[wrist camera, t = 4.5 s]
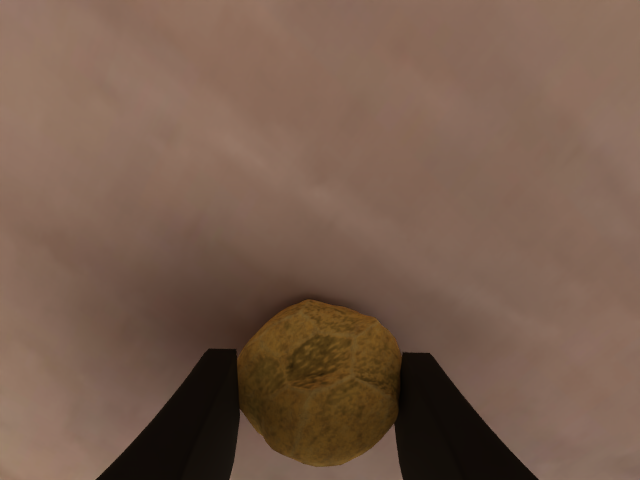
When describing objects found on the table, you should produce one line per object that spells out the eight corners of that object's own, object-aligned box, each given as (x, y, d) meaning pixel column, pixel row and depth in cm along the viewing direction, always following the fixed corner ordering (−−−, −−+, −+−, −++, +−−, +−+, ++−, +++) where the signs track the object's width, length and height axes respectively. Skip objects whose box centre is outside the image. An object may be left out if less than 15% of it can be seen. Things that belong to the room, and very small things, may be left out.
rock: (416, 328, 12) (443, 415, 9) (318, 420, 13) (319, 518, 11) (307, 254, 11) (304, 327, 9) (214, 360, 12) (188, 452, 10)
